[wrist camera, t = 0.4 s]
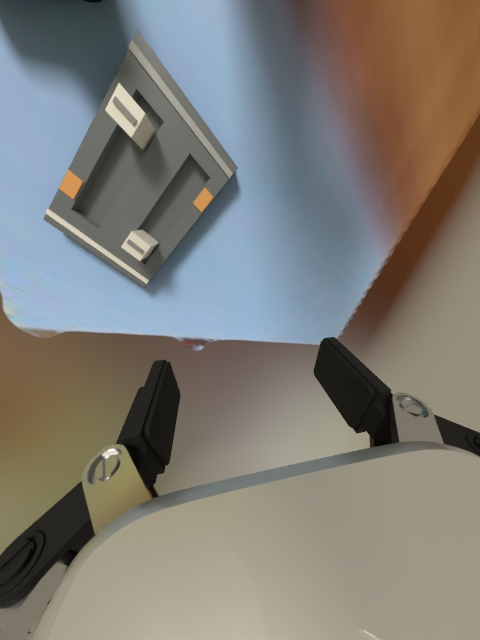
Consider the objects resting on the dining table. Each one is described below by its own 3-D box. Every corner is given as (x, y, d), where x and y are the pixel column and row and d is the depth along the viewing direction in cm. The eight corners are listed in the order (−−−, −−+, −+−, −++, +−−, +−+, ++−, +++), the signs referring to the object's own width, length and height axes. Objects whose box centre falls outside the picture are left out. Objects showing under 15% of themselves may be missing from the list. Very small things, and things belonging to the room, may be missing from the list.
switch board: (144, 49, 21) (137, 28, 19) (235, 171, 29) (237, 167, 26) (55, 219, 28) (42, 219, 26) (147, 283, 35) (143, 288, 33)
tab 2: (143, 229, 29) (131, 231, 25) (159, 242, 31) (150, 246, 26) (133, 243, 30) (120, 247, 26) (149, 255, 32) (139, 261, 27)
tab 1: (136, 109, 23) (118, 81, 18) (157, 133, 24) (144, 112, 20) (124, 130, 24) (103, 108, 19) (145, 152, 25) (130, 137, 20)
